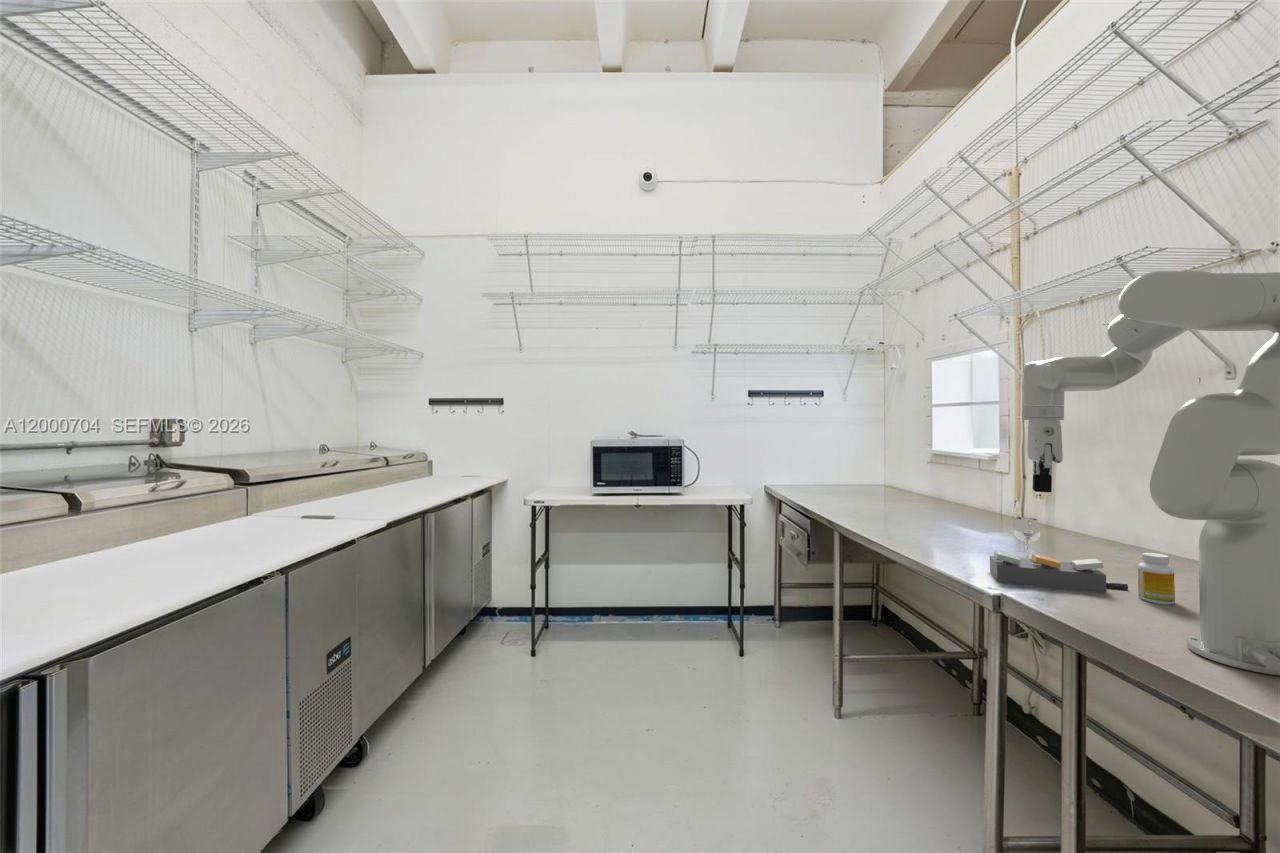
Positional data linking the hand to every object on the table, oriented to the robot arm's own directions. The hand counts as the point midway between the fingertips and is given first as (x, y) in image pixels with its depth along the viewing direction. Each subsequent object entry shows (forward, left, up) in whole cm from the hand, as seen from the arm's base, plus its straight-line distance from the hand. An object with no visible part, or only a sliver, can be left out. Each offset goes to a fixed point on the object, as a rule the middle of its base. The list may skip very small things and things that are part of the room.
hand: (1042, 491), depth 118 cm
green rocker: (+1, +7, -17) cm, 18 cm away
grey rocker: (+1, -8, -17) cm, 18 cm away
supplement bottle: (-4, -18, -22) cm, 29 cm away
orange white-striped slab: (+1, -1, -17) cm, 17 cm away
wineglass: (+22, -1, -22) cm, 31 cm away
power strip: (+3, -3, -22) cm, 22 cm away
